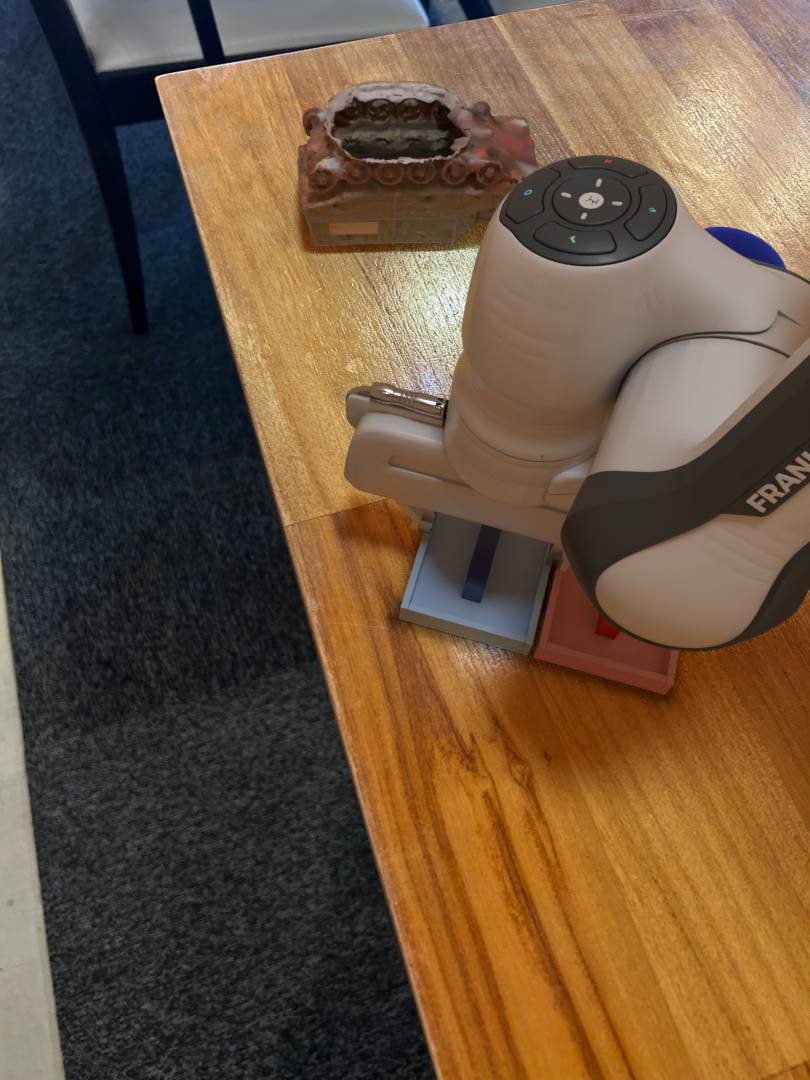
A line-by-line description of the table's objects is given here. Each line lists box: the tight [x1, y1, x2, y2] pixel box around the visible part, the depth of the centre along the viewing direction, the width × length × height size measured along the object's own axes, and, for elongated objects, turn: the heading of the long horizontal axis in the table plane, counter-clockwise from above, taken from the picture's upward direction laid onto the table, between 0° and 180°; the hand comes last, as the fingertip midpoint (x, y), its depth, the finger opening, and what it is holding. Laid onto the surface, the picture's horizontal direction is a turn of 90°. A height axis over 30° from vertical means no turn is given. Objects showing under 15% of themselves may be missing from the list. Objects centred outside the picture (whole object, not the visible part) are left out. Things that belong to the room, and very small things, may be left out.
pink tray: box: [533, 565, 680, 696], centre depth 67 cm, size 9×18×2 cm, turn 164°
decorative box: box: [296, 79, 540, 248], centre depth 79 cm, size 13×20×10 cm, turn 89°
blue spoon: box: [461, 524, 501, 603], centre depth 67 cm, size 13×4×2 cm, turn 164°
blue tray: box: [398, 512, 552, 656], centre depth 68 cm, size 9×18×2 cm, turn 164°
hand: (490, 541), depth 65 cm, fingers open, 8 cm apart
